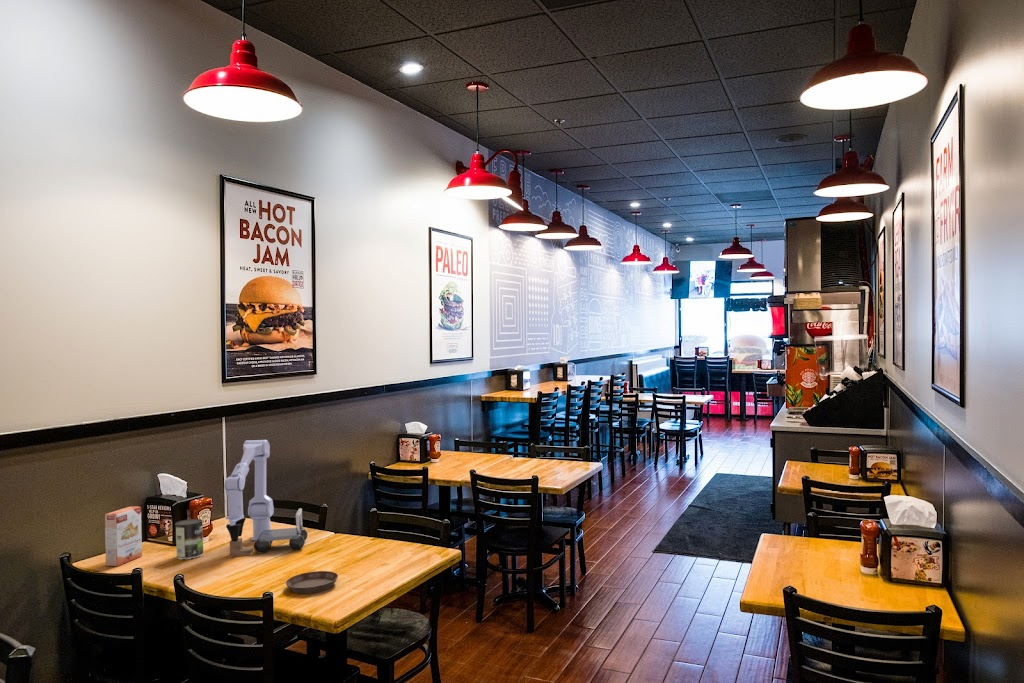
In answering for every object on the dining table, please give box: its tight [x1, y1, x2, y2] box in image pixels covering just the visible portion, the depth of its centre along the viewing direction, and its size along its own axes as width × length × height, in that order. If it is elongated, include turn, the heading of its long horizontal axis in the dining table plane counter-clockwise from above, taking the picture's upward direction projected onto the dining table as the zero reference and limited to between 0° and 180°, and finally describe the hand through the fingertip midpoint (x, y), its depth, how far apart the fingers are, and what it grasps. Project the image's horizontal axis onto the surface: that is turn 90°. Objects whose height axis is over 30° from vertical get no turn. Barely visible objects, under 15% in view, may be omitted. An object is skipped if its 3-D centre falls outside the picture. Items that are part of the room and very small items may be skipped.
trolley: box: [253, 507, 308, 554], centre depth 302 cm, size 13×20×15 cm, turn 100°
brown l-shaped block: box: [229, 537, 254, 557], centre depth 294 cm, size 4×8×6 cm, turn 100°
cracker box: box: [104, 506, 143, 567], centre depth 290 cm, size 14×6×21 cm, turn 168°
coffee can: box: [174, 518, 205, 560], centre depth 294 cm, size 10×10×14 cm
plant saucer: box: [285, 570, 339, 594], centre depth 250 cm, size 18×18×3 cm
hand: (236, 538), depth 293 cm, fingers open, 7 cm apart
